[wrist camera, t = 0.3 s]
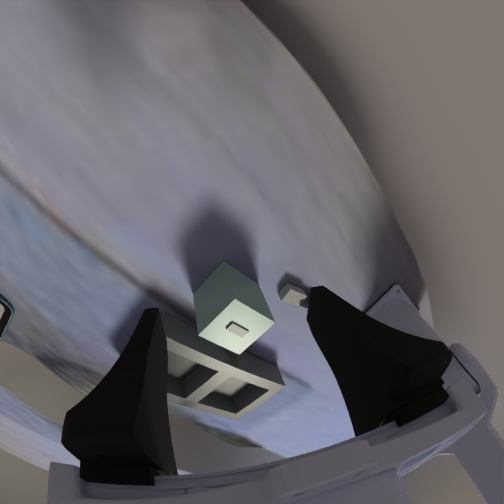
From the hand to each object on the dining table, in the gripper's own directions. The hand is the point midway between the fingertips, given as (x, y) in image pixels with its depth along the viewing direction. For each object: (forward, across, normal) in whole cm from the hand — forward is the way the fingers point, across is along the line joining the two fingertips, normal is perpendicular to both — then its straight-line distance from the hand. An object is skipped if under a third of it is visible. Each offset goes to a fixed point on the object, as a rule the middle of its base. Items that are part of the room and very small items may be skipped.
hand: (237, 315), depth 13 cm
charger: (+10, -1, +6) cm, 12 cm away
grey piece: (+10, +2, +15) cm, 18 cm away
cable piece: (+10, -11, +10) cm, 18 cm away
